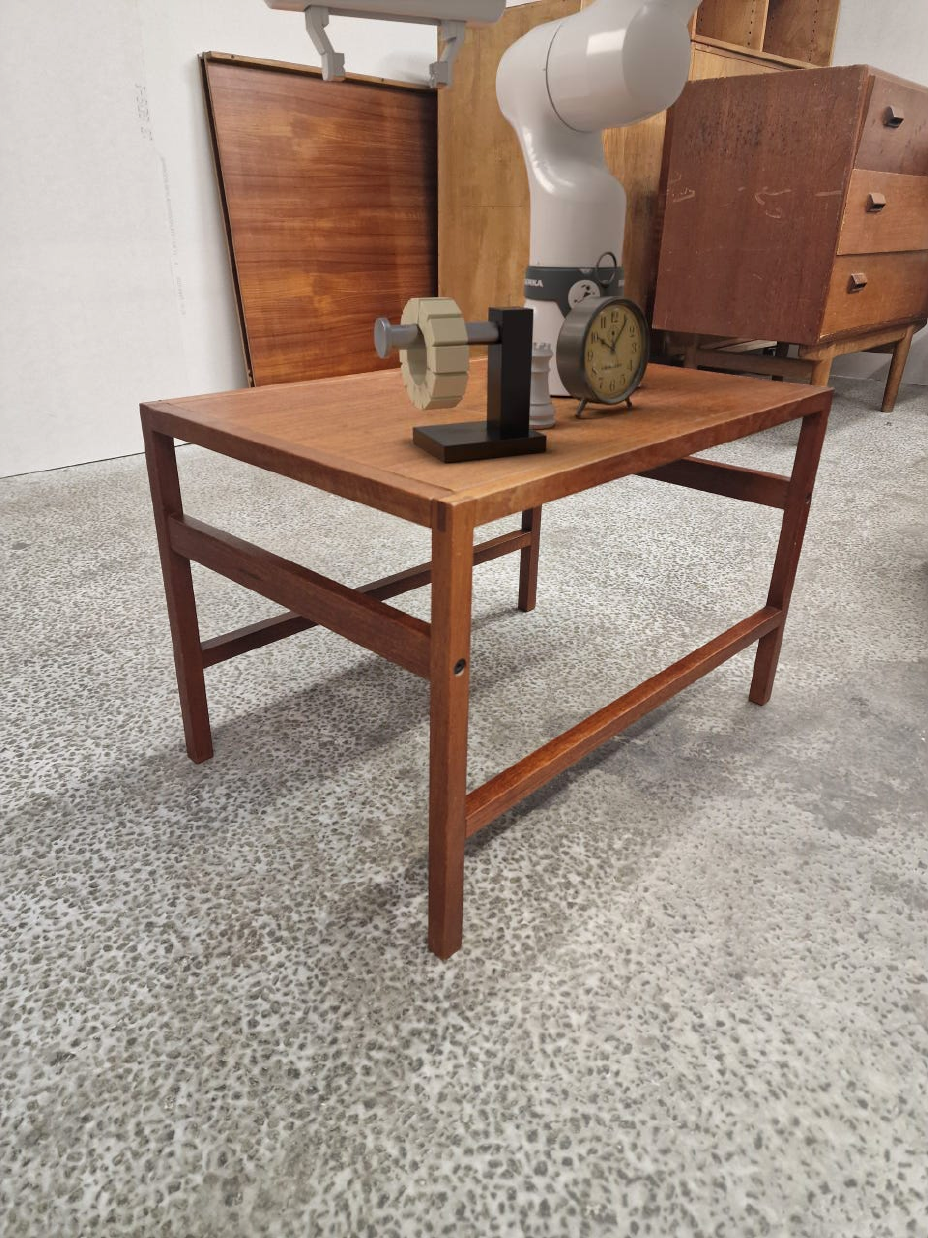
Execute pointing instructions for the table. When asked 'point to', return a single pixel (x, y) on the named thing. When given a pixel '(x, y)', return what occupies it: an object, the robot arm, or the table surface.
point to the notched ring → (436, 354)
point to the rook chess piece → (541, 388)
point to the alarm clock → (603, 347)
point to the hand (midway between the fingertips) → (388, 84)
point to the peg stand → (505, 388)
